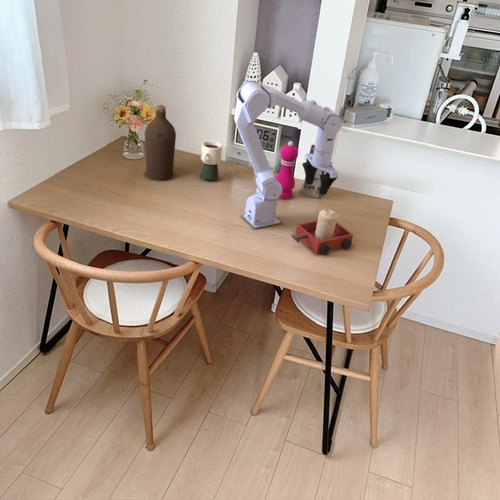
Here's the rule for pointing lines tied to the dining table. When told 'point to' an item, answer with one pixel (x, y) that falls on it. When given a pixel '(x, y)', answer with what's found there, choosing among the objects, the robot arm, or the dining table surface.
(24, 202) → the dining table surface
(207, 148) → the character mug
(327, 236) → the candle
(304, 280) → the dining table surface
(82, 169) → the dining table surface
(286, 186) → the pepper mill
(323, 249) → the cart wheels
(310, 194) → the coffee box
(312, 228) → the cart
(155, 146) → the olive oil
